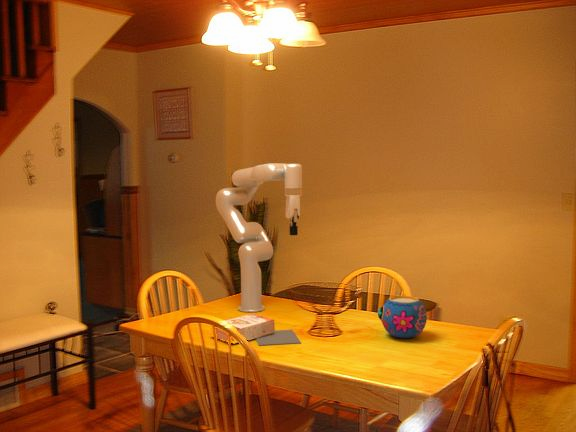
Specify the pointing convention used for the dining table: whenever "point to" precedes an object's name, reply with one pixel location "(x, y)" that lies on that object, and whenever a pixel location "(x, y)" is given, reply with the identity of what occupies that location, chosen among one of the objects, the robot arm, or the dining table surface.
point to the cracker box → (249, 327)
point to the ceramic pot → (403, 316)
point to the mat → (278, 338)
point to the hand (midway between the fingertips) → (293, 235)
